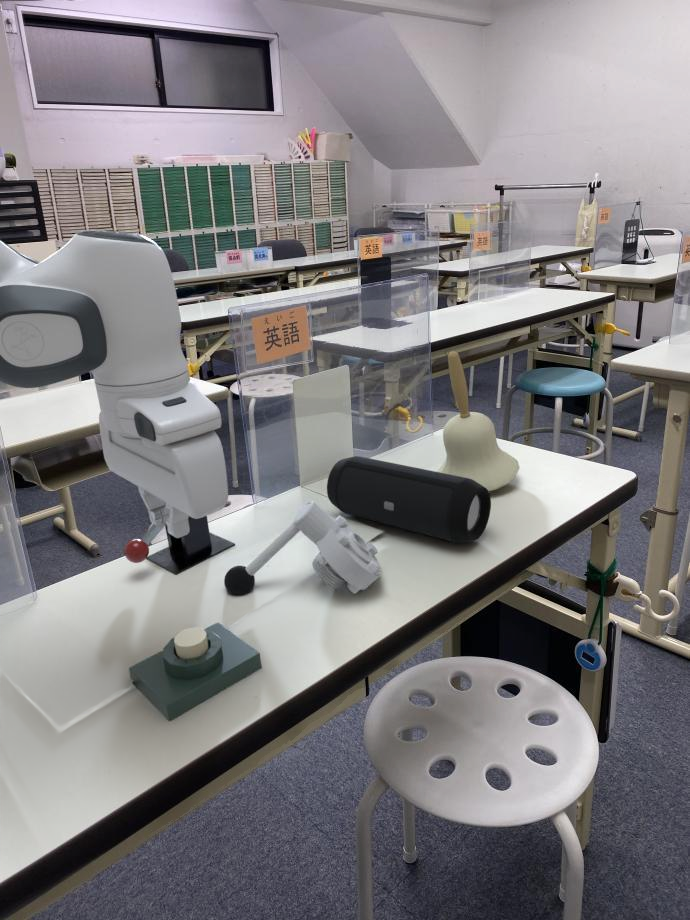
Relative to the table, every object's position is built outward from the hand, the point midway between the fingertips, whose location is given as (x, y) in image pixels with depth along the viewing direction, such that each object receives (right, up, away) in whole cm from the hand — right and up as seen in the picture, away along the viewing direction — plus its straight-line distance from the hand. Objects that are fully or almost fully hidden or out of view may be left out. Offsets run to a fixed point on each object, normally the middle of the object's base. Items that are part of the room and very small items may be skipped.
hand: (170, 528), depth 72 cm
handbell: (+42, +3, +53) cm, 68 cm away
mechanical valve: (+13, -11, +23) cm, 28 cm away
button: (+1, -14, +6) cm, 15 cm away
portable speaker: (+28, -4, +38) cm, 48 cm away
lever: (-8, -3, +29) cm, 30 cm away
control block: (+1, -18, +7) cm, 19 cm away
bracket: (-5, -8, +33) cm, 35 cm away
